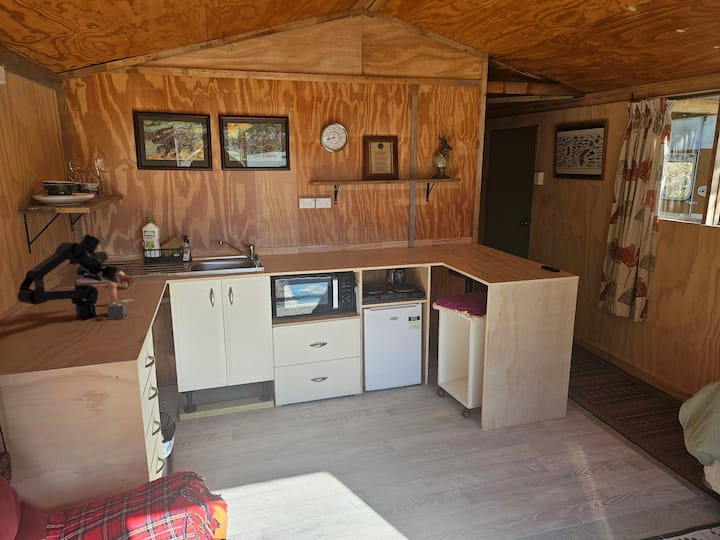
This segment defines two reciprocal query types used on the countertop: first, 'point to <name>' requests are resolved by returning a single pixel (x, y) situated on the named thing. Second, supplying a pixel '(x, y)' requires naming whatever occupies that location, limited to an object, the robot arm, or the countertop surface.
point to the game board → (126, 300)
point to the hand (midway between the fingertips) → (108, 281)
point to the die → (117, 310)
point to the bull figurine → (125, 279)
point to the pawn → (112, 292)
